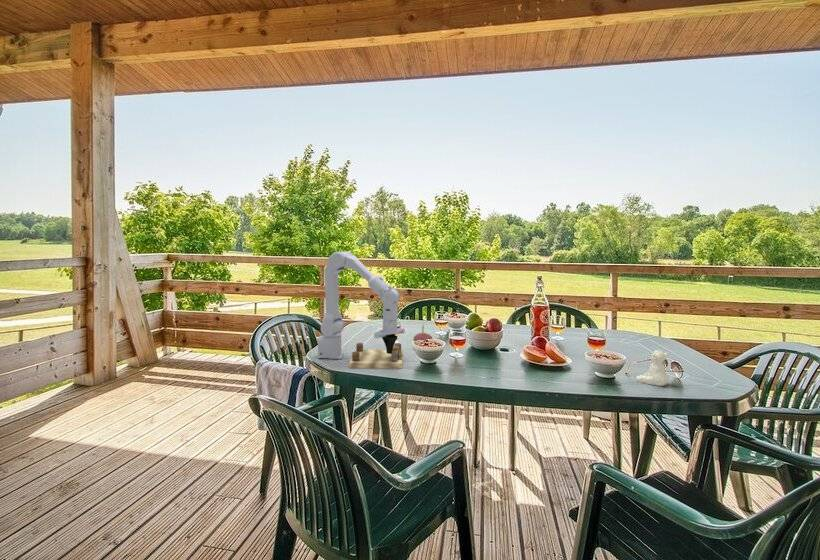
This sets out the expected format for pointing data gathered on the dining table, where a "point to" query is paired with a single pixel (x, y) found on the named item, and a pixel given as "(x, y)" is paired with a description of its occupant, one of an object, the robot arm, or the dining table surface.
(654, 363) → the seated beast figurine
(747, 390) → the dining table surface
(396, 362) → the stool seat
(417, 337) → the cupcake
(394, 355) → the folding leg
